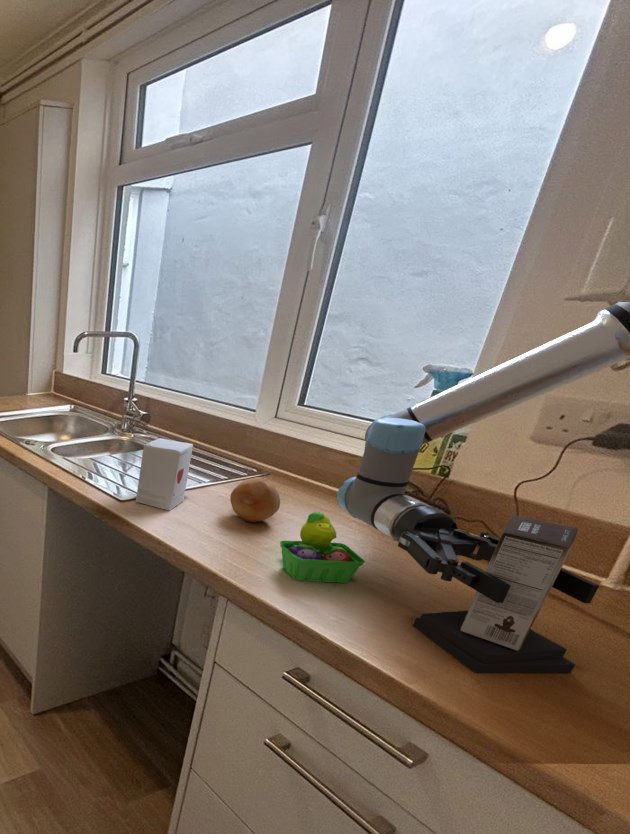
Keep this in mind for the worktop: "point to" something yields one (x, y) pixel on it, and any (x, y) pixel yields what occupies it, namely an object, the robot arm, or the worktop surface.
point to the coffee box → (520, 580)
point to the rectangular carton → (164, 473)
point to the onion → (255, 499)
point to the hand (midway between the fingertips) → (547, 594)
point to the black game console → (492, 647)
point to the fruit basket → (319, 553)
